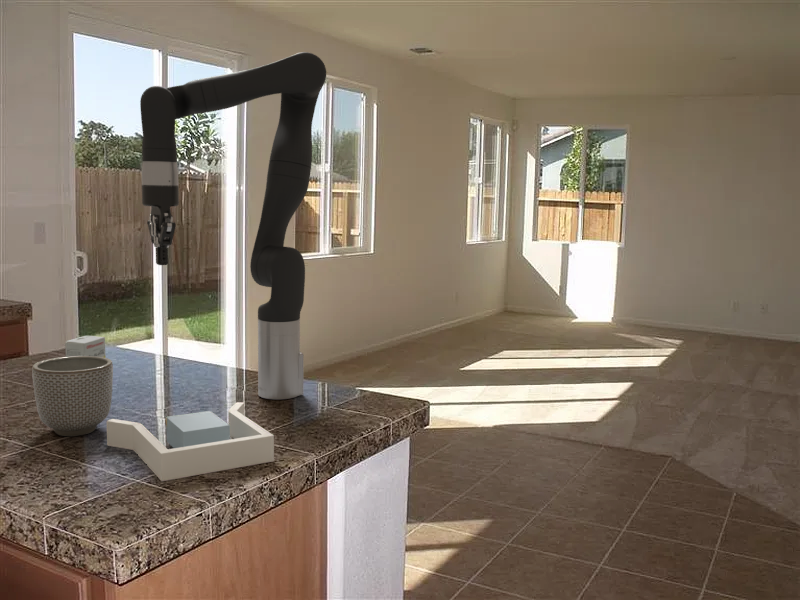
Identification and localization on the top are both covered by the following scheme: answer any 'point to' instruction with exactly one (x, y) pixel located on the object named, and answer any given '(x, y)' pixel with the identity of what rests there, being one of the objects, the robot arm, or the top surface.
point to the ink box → (86, 346)
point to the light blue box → (195, 429)
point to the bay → (196, 447)
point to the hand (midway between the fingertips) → (162, 264)
